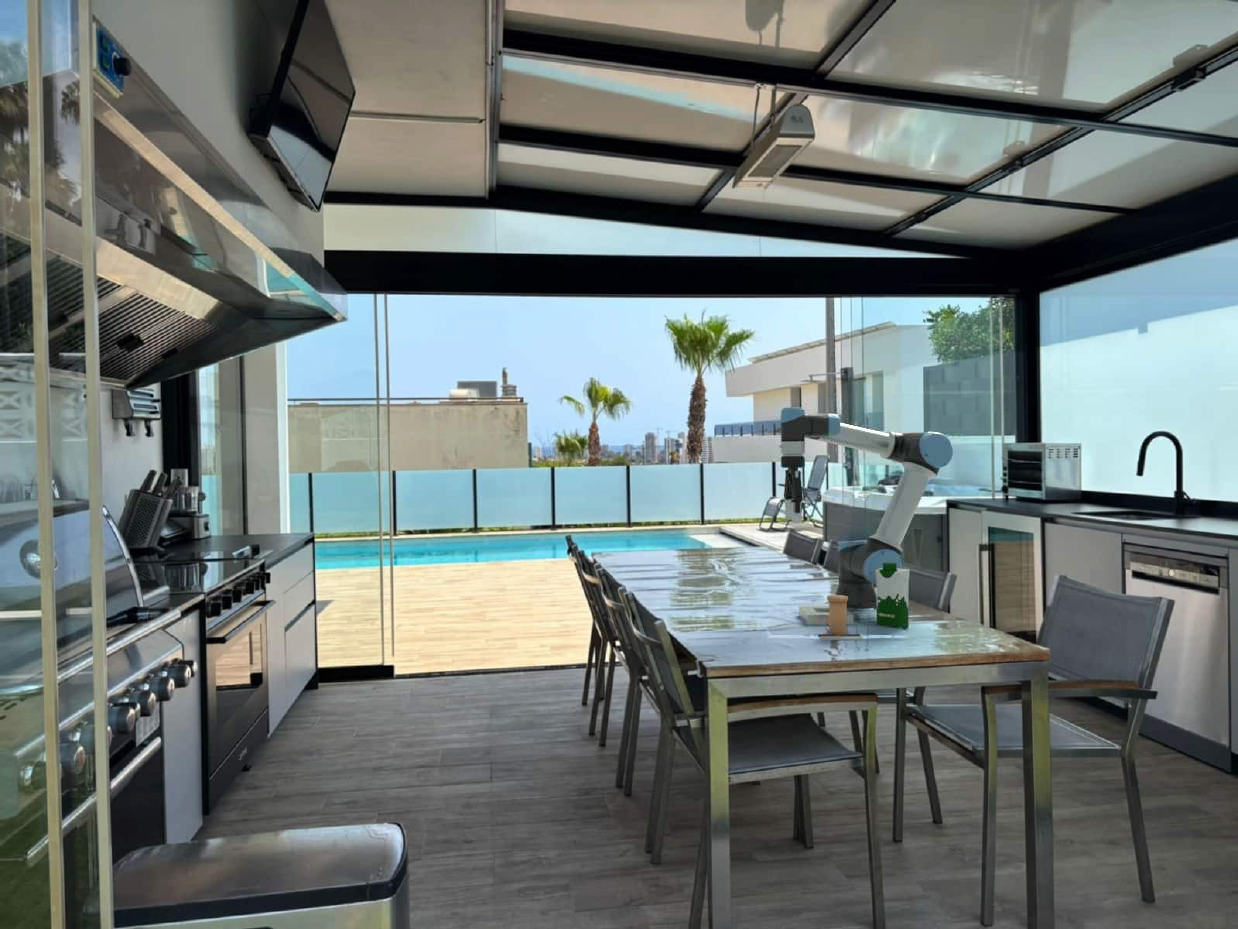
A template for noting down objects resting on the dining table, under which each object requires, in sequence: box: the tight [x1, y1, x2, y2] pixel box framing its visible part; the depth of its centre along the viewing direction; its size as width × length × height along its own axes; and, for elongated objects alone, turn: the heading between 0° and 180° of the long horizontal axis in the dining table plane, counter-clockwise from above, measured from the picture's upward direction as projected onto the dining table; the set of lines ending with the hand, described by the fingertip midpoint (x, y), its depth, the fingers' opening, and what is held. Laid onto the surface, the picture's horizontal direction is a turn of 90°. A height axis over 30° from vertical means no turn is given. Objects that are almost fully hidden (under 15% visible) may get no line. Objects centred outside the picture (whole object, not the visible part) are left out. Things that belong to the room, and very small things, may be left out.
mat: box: [816, 633, 865, 641], centre depth 246 cm, size 12×12×1 cm
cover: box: [826, 594, 848, 636], centre depth 246 cm, size 6×6×11 cm
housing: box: [798, 605, 855, 626], centre depth 263 cm, size 14×14×4 cm
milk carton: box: [875, 563, 910, 630], centre depth 256 cm, size 9×9×20 cm
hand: (793, 521), depth 269 cm, fingers open, 13 cm apart
